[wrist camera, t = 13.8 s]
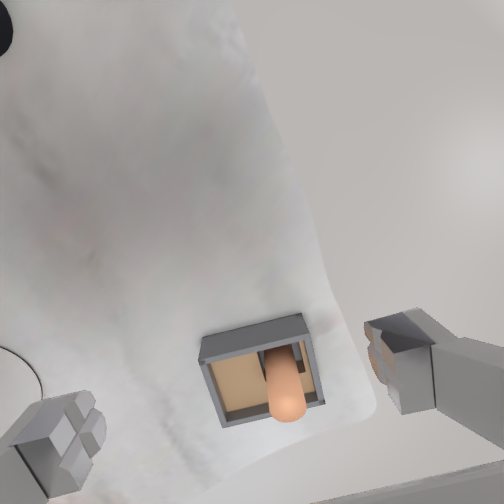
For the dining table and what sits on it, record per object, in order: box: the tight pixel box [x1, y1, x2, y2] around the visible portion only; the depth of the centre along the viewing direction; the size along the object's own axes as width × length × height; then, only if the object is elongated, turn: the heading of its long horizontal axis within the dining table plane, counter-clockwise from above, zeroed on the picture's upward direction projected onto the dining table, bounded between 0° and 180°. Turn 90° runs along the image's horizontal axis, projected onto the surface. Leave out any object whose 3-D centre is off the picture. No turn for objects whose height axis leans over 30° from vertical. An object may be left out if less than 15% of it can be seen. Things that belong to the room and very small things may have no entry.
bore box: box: [198, 313, 325, 428], centre depth 40 cm, size 14×11×5 cm
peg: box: [263, 344, 307, 422], centre depth 37 cm, size 4×4×10 cm
